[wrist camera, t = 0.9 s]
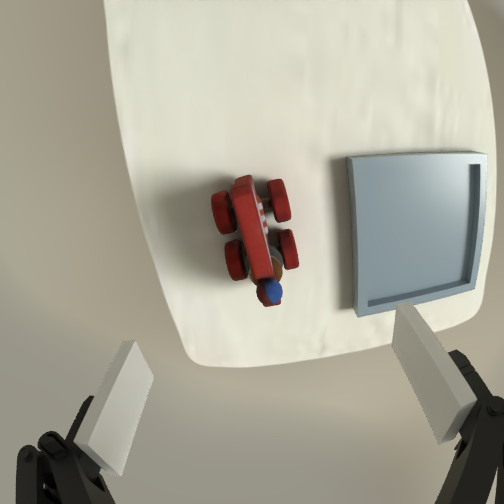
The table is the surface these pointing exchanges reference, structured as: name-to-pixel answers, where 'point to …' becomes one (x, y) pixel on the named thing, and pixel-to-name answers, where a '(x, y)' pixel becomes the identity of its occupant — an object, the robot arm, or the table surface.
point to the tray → (415, 226)
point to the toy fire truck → (256, 236)
